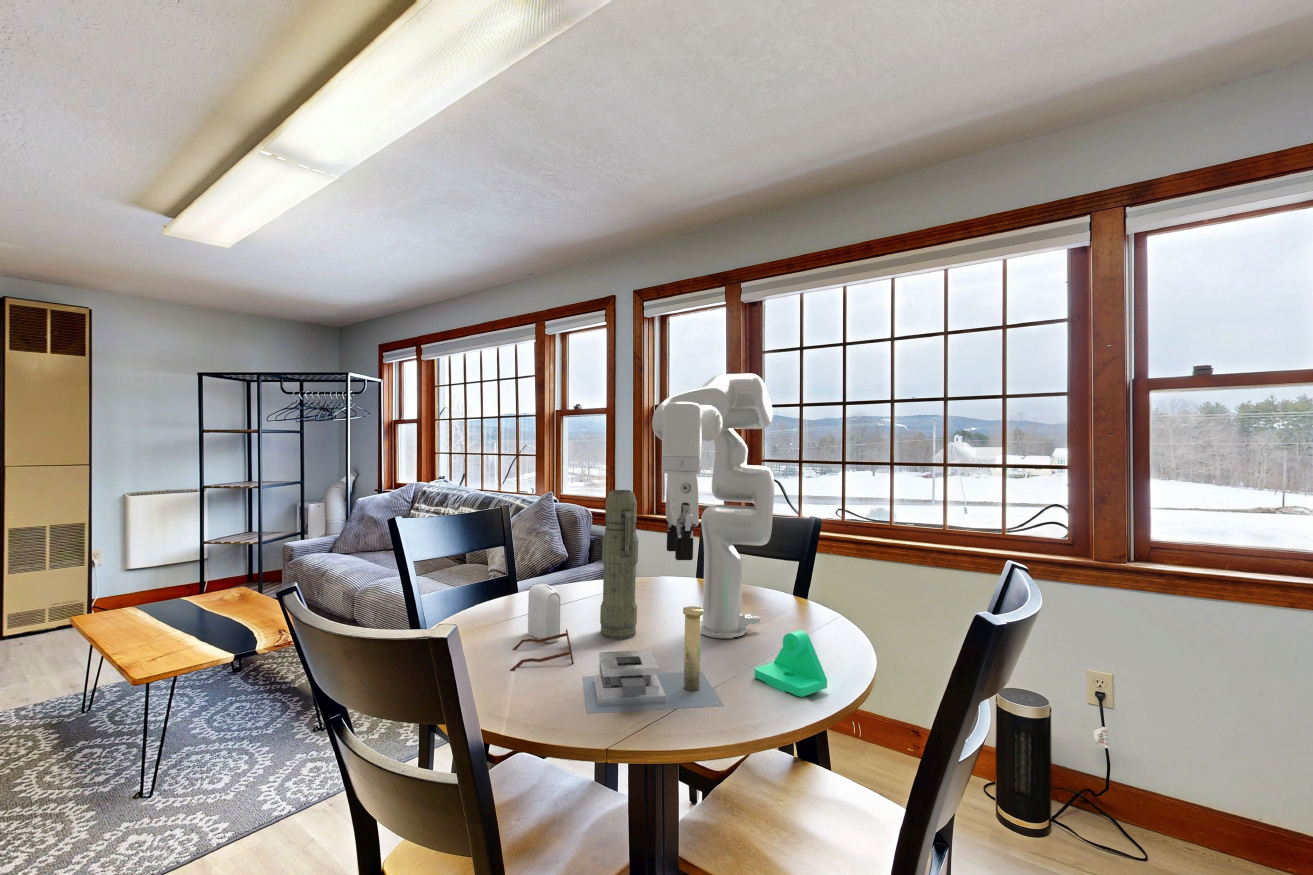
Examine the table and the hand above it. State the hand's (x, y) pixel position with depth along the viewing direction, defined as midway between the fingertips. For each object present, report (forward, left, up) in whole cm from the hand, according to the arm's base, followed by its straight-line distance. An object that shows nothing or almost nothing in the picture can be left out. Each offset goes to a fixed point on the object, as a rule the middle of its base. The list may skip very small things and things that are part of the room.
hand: (679, 555), depth 113 cm
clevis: (+10, +4, -24) cm, 27 cm away
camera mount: (-22, +2, -26) cm, 34 cm away
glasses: (+26, -18, -26) cm, 41 cm away
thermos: (+8, -33, -25) cm, 43 cm away
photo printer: (+26, -32, -25) cm, 48 cm away
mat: (+6, +3, -25) cm, 26 cm away
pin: (-2, +2, -24) cm, 25 cm away
